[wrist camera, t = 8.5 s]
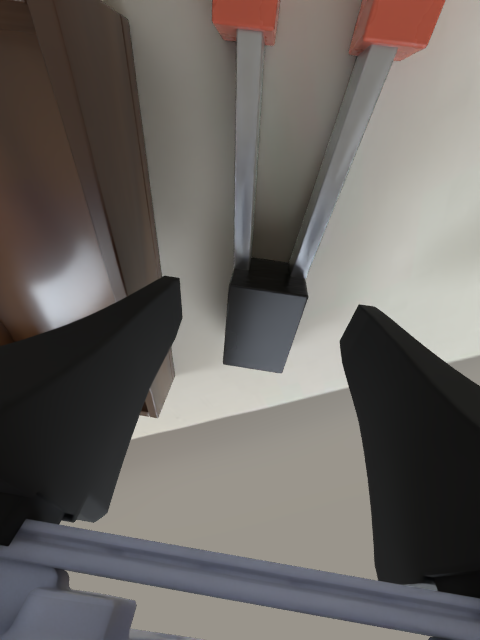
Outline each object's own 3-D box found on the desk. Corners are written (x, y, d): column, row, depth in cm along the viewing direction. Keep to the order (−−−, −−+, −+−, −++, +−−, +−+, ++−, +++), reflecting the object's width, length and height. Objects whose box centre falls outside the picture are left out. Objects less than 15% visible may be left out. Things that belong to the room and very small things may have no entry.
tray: (25, 352, 19) (-16, 389, 16) (-247, -26, 7) (-538, -110, 5) (175, 376, 19) (158, 418, 16) (128, 19, 7) (40, -45, 4)
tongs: (439, -44, 6) (532, -142, 4) (293, 355, 16) (296, 392, 13) (225, -67, 6) (198, -173, 4) (212, 343, 16) (202, 377, 14)
